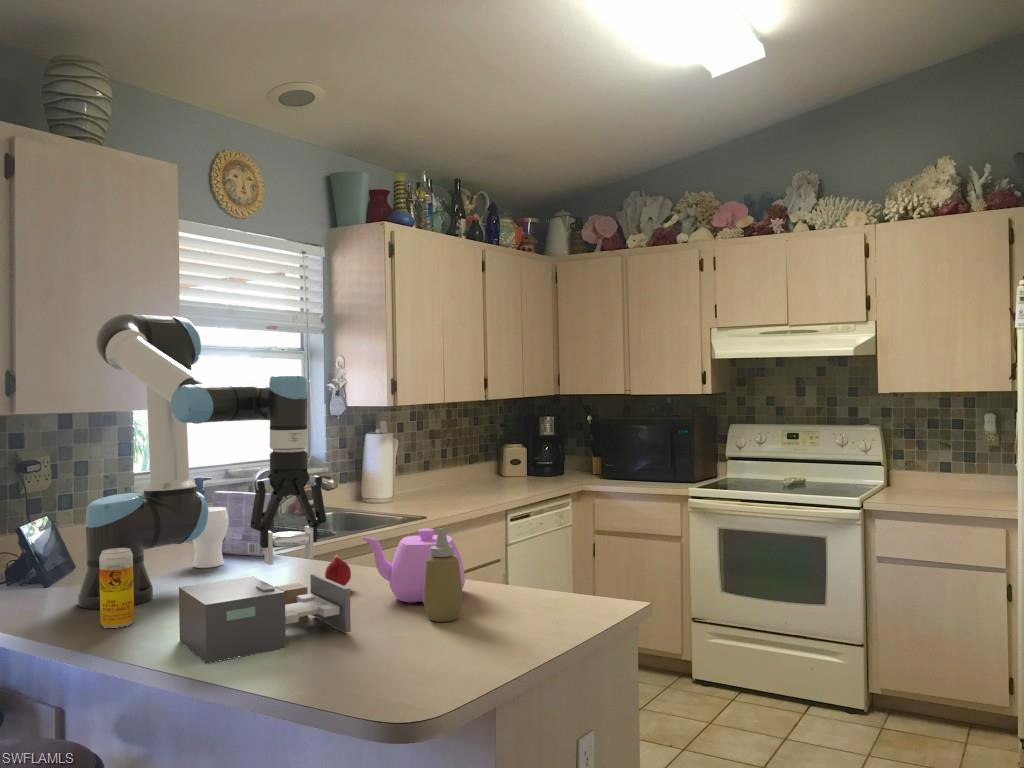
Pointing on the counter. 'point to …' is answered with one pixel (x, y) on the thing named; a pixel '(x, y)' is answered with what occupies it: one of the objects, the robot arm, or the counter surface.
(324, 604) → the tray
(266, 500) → the cake pan box
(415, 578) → the teapot
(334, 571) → the onion
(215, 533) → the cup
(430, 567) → the squeeze bottle
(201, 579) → the counter surface
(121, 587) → the beer can
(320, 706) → the counter surface
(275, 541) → the disc
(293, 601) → the brown wooden block
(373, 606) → the counter surface
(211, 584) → the box
